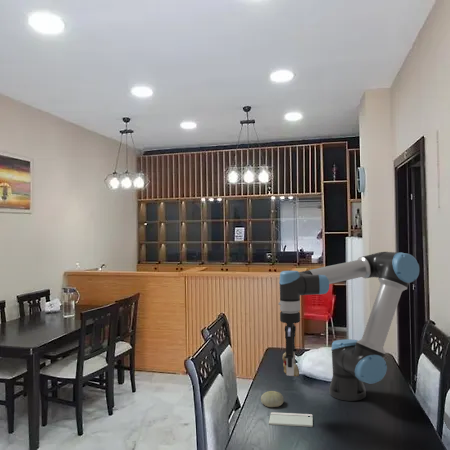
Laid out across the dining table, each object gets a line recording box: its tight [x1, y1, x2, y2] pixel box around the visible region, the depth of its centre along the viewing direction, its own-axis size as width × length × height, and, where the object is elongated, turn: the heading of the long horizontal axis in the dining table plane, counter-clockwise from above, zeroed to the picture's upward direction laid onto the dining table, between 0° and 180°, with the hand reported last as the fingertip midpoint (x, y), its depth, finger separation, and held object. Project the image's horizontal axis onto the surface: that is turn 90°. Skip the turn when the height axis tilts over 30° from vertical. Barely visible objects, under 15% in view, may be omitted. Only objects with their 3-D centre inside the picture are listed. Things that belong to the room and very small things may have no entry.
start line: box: [270, 411, 313, 417], centre depth 161 cm, size 16×2×1 cm, turn 79°
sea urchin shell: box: [260, 390, 285, 408], centre depth 172 cm, size 9×8×8 cm
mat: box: [268, 414, 314, 428], centre depth 156 cm, size 16×7×1 cm, turn 79°
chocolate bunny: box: [282, 351, 300, 377], centre depth 158 cm, size 6×8×10 cm
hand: (290, 371), depth 158 cm, fingers closed on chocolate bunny, 7 cm apart
